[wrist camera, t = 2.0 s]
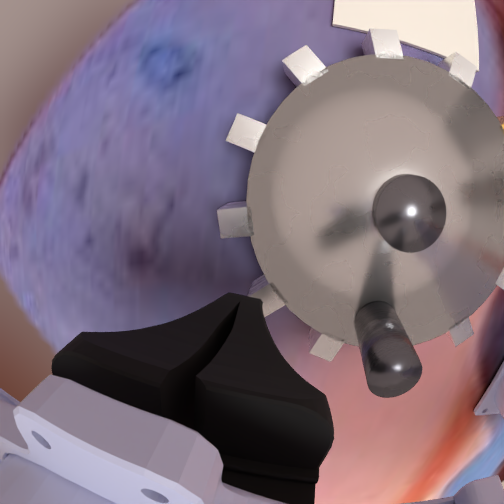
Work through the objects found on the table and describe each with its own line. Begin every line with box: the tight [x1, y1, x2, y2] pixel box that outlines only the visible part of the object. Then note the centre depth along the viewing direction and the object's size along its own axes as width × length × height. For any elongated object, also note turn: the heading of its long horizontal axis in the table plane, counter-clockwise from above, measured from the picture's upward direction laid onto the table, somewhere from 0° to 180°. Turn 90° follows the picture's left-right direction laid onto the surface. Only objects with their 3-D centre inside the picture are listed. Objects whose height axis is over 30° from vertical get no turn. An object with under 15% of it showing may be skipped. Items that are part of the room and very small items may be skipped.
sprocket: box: [217, 29, 504, 398], centre depth 10 cm, size 15×15×6 cm
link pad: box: [332, 0, 479, 72], centre depth 10 cm, size 8×5×1 cm, turn 82°
